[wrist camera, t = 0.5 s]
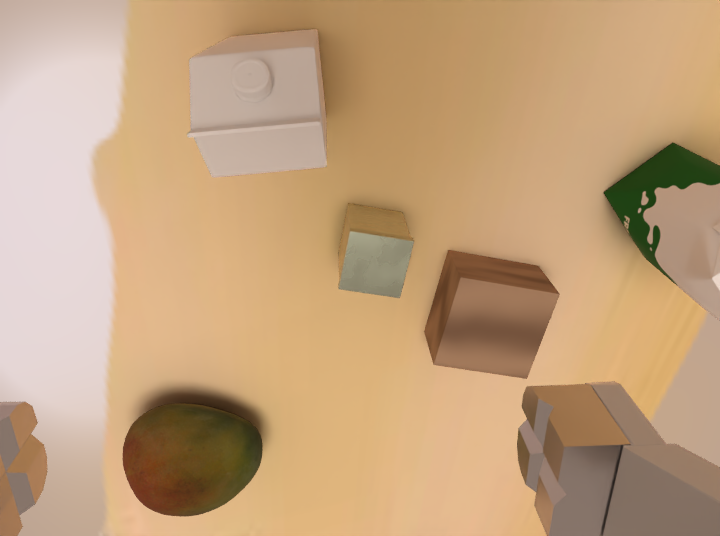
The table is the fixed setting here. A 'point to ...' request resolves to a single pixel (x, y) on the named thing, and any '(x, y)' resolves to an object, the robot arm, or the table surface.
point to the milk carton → (259, 104)
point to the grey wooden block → (374, 251)
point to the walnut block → (489, 314)
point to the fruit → (190, 458)
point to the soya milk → (676, 219)
